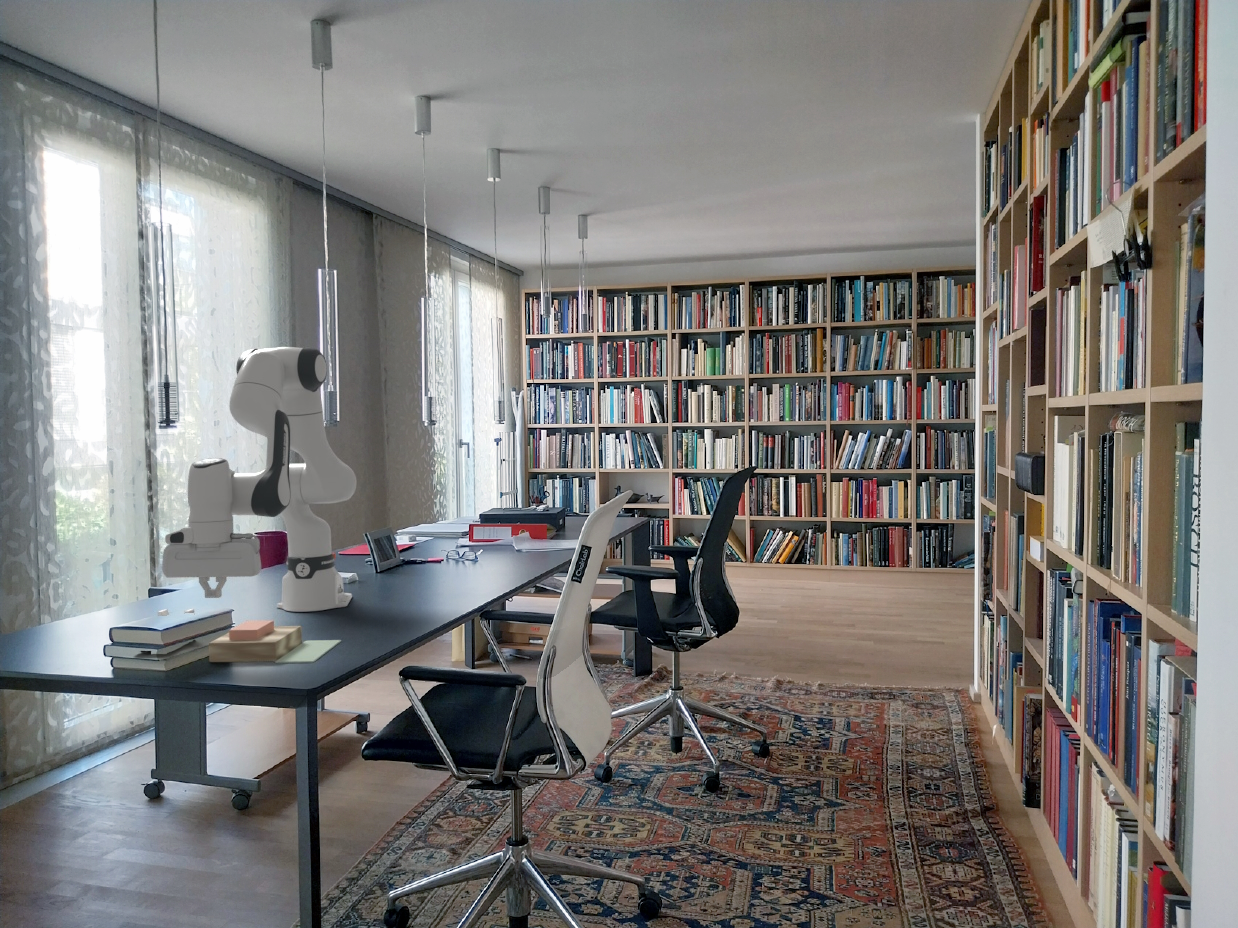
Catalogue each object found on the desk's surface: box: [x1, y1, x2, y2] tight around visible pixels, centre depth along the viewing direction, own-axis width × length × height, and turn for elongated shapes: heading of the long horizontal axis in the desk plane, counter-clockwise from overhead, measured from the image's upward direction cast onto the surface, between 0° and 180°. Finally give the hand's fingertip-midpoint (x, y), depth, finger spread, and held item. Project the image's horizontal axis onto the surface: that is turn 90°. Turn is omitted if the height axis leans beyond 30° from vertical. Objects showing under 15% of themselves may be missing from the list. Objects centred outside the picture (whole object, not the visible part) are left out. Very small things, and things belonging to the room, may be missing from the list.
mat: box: [274, 639, 342, 664], centre depth 196 cm, size 18×8×1 cm, turn 179°
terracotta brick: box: [228, 620, 275, 640], centre depth 196 cm, size 9×6×2 cm, turn 179°
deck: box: [208, 625, 303, 663], centre depth 196 cm, size 15×14×4 cm
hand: (213, 597), depth 196 cm, fingers closed
